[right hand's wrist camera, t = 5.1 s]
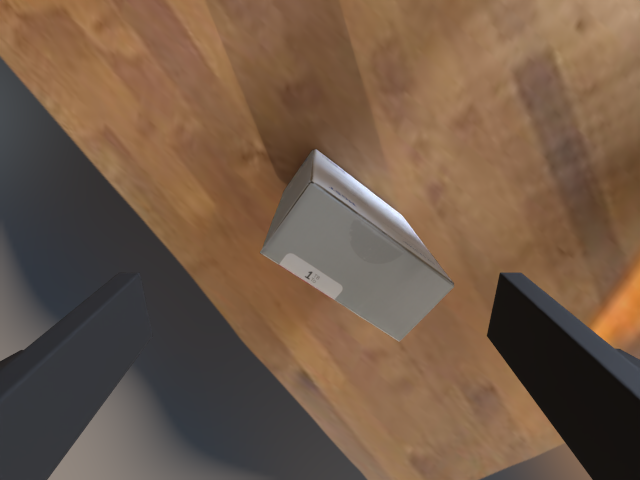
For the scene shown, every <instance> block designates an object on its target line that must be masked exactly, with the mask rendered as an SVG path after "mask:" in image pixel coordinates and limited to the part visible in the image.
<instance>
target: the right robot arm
mask: <svg viewBox="0 0 640 480" xmlns="http://www.w3.org/2000/svg"><path fill="white" fill-rule="evenodd" d="M152 337H153V333H152V328H151V324H150V319H149V314H148V309H147V304H146V299H145V295H144V290H143V285H142V280H141V275H140V273H118V274H117V275H116V276H114V277H113V278H112V279H111V280H109V281H108V282H107V283H106V284H104V285H103V286H102V287H101V288H100V289H98V290H97V291H96V292H95V293H93V294H92V295H91V296H90V297H88V298H87V299H86V300H85V301H84V302H82V303H81V304H80V305H79V306H77V307H76V308H75V309H74V310H73V311H71V312H70V313H69V314H68V315H66V316H65V317H64V318H63V319H61V320H60V321H59V322H58V323H57V324H55V325H54V326H53V327H52V328H50V329H49V330H48V331H47V332H46V333H44V334H43V335H42V336H41V337H39V338H38V339H37V340H36V341H35V342H33V343H32V344H31V345H30V346H28V347H27V348H26V349H25V350H20V351H19V352H17V353H15V354H13V355H11V356H9V357H7V358H6V359H4V360H2V361H0V480H47V479H48V478H49V477H50V475H51V474H52V472H53V471H54V470H55V468H56V467H57V466H58V464H59V463H60V462H61V460H62V459H63V457H64V456H65V455H66V453H67V452H68V451H69V449H70V448H71V447H72V445H73V444H74V443H75V441H76V440H77V439H78V437H79V436H80V434H81V433H82V432H83V430H84V429H85V428H86V426H87V425H88V424H89V422H90V421H91V420H92V418H93V417H94V415H95V414H96V413H97V411H98V410H99V409H100V407H101V406H102V405H103V403H104V402H105V400H106V399H107V398H108V396H109V395H110V394H111V392H112V391H113V390H114V388H115V387H116V386H117V384H118V383H119V381H120V380H121V379H122V377H123V376H124V375H125V373H126V372H127V371H128V369H129V368H130V366H131V365H132V364H133V362H134V361H135V360H136V358H137V357H138V356H139V354H140V353H141V352H142V350H143V349H144V347H145V346H146V345H147V343H148V342H149V341H150V339H151V338H152ZM487 337H488V338H489V339H490V341H491V342H492V343H493V345H494V346H495V347H496V349H497V350H498V352H499V353H500V354H501V356H502V357H503V358H504V360H505V361H506V362H507V364H508V365H509V367H510V368H511V369H512V371H513V372H514V373H515V375H516V376H517V377H518V379H519V380H520V381H521V383H522V384H523V386H524V387H525V388H526V390H527V391H528V392H529V394H530V395H531V396H532V398H533V399H534V400H535V402H536V403H537V405H538V406H539V407H540V409H541V410H542V411H543V413H544V414H545V415H546V417H547V418H548V420H549V421H550V422H551V424H552V425H553V426H554V428H555V429H556V430H557V432H558V433H559V434H560V436H561V437H562V439H563V440H564V441H565V443H566V444H567V445H568V447H569V448H570V449H571V451H572V452H573V453H574V455H575V456H576V458H577V459H578V460H579V462H580V463H581V464H582V466H583V467H584V468H585V470H586V471H587V473H588V474H589V475H590V477H591V478H592V479H593V480H640V360H639V359H637V358H635V357H634V356H632V355H630V354H628V353H626V352H624V351H622V350H620V349H614V348H613V347H612V346H610V345H609V344H608V343H607V342H606V341H604V340H603V339H602V338H601V337H599V336H598V335H597V334H596V333H594V332H593V331H592V330H591V329H590V328H588V327H587V326H586V325H585V324H583V323H582V322H581V321H580V320H579V319H577V318H576V317H575V316H574V315H572V314H571V313H570V312H569V311H567V310H566V309H565V308H564V307H563V306H561V305H560V304H559V303H558V302H556V301H555V300H554V299H553V298H552V297H550V296H549V295H548V294H547V293H545V292H544V291H543V290H542V289H540V288H539V287H538V286H537V285H536V284H534V283H533V282H532V281H531V280H529V279H528V278H527V277H526V276H524V275H523V274H522V273H500V275H499V280H498V285H497V290H496V295H495V299H494V304H493V309H492V314H491V319H490V324H489V328H488V333H487Z"/></svg>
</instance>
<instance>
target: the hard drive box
mask: <svg viewBox="0 0 640 480" xmlns="http://www.w3.org/2000/svg"><path fill="white" fill-rule="evenodd" d="M260 253H261V254H263V255H264V256H266V257H267V258H269V259H271V260H272V261H274V262H275V263H277V264H278V265H280V266H281V267H283V268H284V269H286V270H287V271H289V272H291V273H292V274H294V275H295V276H297V277H299V278H300V279H302V280H303V281H305V282H306V283H308V284H309V285H311V286H313V287H314V288H316V289H317V290H319V291H321V292H322V293H324V294H325V295H327V296H328V297H330V298H332V299H333V300H335V301H337V302H338V303H340V304H342V305H343V306H345V307H346V308H348V309H349V310H351V311H352V312H354V313H355V314H357V315H358V316H360V317H361V318H363V319H364V320H366V321H368V322H369V323H371V324H373V325H374V326H376V327H377V328H379V329H380V330H382V331H383V332H385V333H387V334H388V335H390V336H391V337H393V338H394V339H396V340H397V341H400V340H402V339H403V338H404V337H405V336H406V335H407V334H408V333H409V332H410V331H411V330H412V329H413V328H414V327H415V326H416V325H417V324H418V323H419V322H420V321H421V320H422V319H423V318H424V317H425V316H426V315H427V314H428V313H429V312H430V311H431V310H432V308H433V307H434V306H435V305H436V304H437V303H438V302H439V301H440V300H441V299H442V298H443V297H444V296H445V295H446V294H447V293H448V292H449V291H450V290H451V289H452V288H453V287H454V283H453V282H452V280H451V279H450V278H449V277H448V275H447V274H446V273H445V271H444V270H443V269H442V267H441V266H440V265H439V263H438V262H437V261H436V259H435V258H434V257H433V255H432V254H431V253H430V251H429V250H428V249H427V248H426V246H425V245H424V244H423V242H422V241H421V240H420V238H419V237H418V236H417V234H416V233H415V232H414V230H413V229H412V228H411V226H410V225H409V224H408V223H407V221H406V220H405V219H404V217H403V216H402V215H401V214H400V213H398V212H397V211H396V210H394V209H393V208H392V207H390V206H389V205H388V204H387V203H385V202H384V201H383V200H381V199H380V198H379V197H377V196H376V195H375V194H373V193H372V192H371V191H370V190H368V189H367V188H366V187H365V186H363V185H362V184H361V183H359V182H358V181H357V180H356V179H354V178H353V177H352V176H350V175H349V174H348V173H347V172H345V171H344V170H343V169H341V168H340V167H339V166H338V165H336V164H335V163H334V162H332V161H331V160H330V159H328V158H327V157H326V156H325V155H323V154H322V153H321V152H319V151H318V150H317V149H315V150H312V151H311V153H310V154H309V155H308V157H307V158H306V160H305V161H304V162H303V164H302V165H301V167H300V168H299V170H298V171H297V173H296V174H295V176H294V177H293V178H292V180H291V181H290V183H289V184H288V186H287V187H286V189H285V190H284V192H283V194H282V197H281V200H280V203H279V205H278V208H277V210H276V213H275V216H274V218H273V221H272V223H271V226H270V229H269V231H268V234H267V237H266V240H265V242H264V245H263V248H262V250H261V251H260Z"/></svg>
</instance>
